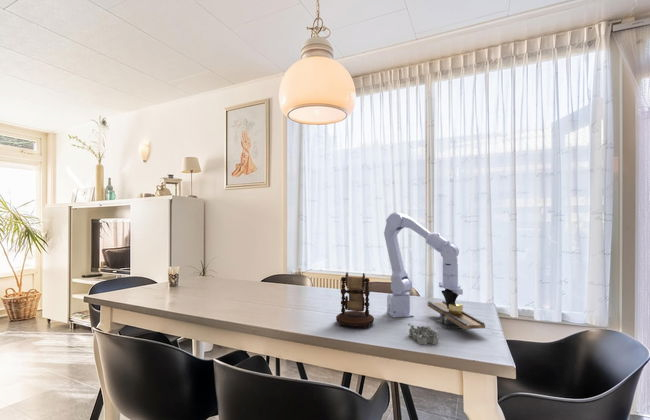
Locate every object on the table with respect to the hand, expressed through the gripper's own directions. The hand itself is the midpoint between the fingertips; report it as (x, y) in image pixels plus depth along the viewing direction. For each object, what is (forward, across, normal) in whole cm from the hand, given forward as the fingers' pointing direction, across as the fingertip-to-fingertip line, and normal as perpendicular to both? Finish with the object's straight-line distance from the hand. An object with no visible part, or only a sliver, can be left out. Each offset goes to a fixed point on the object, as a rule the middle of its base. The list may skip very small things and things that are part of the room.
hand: (450, 308), depth 128 cm
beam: (+2, -2, 0) cm, 3 cm away
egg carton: (+6, -15, +18) cm, 24 cm away
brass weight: (+1, -4, 0) cm, 4 cm away
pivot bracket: (+6, -2, 0) cm, 6 cm away
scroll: (+6, +4, +38) cm, 39 cm away
